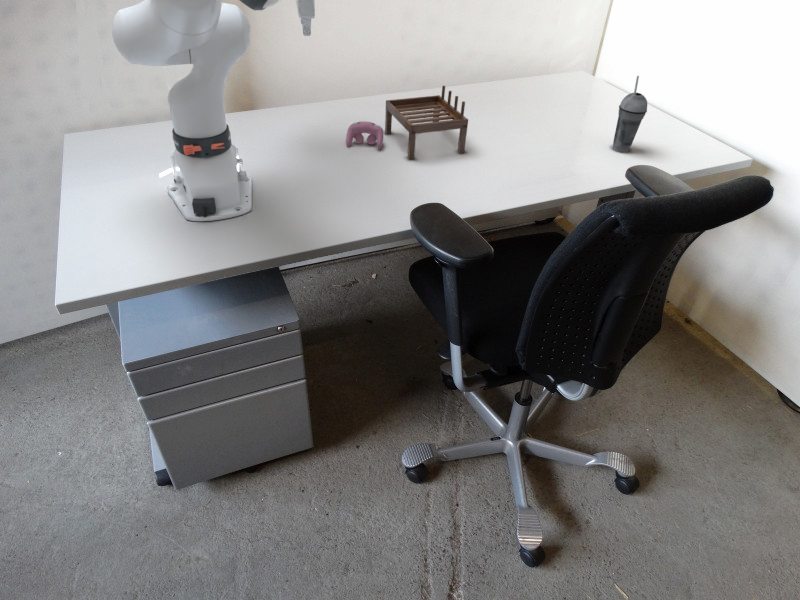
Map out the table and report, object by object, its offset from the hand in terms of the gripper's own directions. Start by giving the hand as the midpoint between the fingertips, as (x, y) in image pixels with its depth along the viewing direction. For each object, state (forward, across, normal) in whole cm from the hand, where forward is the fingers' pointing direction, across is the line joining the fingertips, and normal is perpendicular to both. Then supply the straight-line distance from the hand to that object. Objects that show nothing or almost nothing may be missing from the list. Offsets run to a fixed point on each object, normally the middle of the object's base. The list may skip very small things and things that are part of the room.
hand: (305, 29), depth 140 cm
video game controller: (+29, -3, -14) cm, 32 cm away
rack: (+28, -3, -30) cm, 42 cm away
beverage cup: (+29, -11, -85) cm, 90 cm away
